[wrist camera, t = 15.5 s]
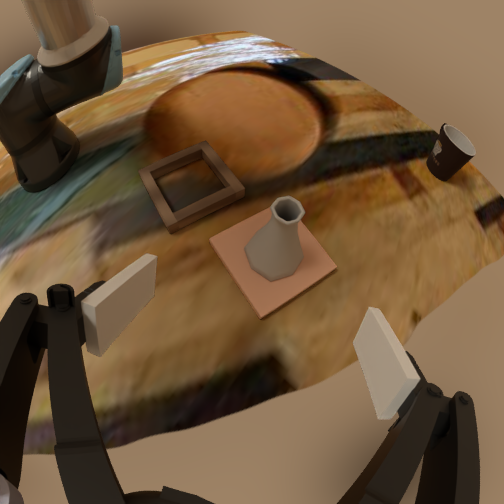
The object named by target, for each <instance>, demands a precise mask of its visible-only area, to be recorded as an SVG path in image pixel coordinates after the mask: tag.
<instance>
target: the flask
mask: <svg viewBox="0 0 504 504" xmlns="http://www.w3.org/2000/svg"><path fill="white" fill-rule="evenodd" d="M270 210H271V212H272V216H271V219H270V220H269V222H268V223H267V224H266V225H265V226H263V227H262V228H261V229H259V230H258V231H257V232H256V233H255V235H254V236H253V237H252V238H251V240H250V241H249V242H248V243H247V245H246V246H245V247H244V250H245V253H246V256H247V259H248V261H249V264H250V267H251V269H253V270H254V271H256V272H257V273H259V274H260V275H262V276H263V277H265V278H266V279H268V280H269V281H274V280H277V279H280V278H284V277H287V276H290V275H293V273H294V272H295V270H296V269H297V267H298V266H299V264H300V263H301V261H302V259H303V258H304V256H303V252H302V248H301V245H300V241H299V236H298V223H299V221H300V220H301V218H302V217H303V216H304V214H305V211H304V209H303V207H302V205H301V203H300V202H299V201H298V200H296V199H294V198H293V197H291V196H284V197H280V198H277V199H276V200H275V201H274V203H273V204H272V205H271V206H270Z"/></svg>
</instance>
